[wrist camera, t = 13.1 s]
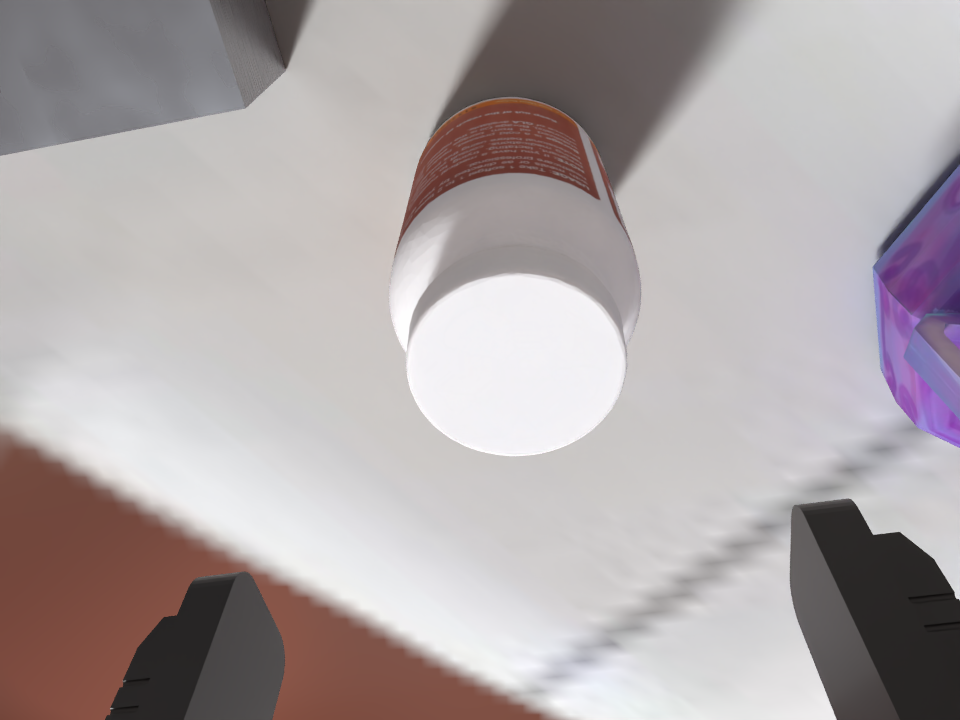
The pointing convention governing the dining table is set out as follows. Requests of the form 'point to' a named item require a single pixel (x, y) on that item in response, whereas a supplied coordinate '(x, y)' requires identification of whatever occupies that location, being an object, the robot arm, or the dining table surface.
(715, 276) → the dining table surface
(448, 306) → the pill bottle
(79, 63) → the bore housing
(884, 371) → the lantern
